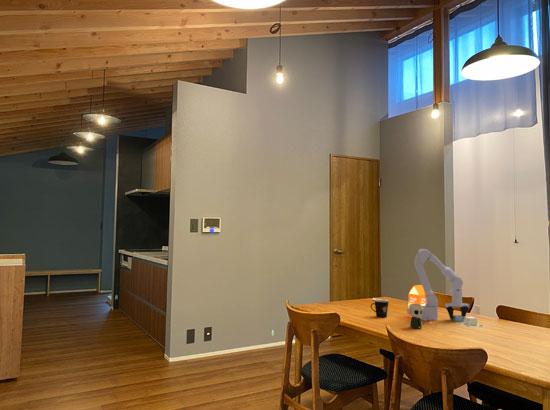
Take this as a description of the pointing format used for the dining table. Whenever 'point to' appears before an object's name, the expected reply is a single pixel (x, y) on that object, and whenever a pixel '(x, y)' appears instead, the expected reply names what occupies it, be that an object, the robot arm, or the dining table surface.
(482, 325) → the baseplate
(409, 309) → the toy figurine
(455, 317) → the blue block
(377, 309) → the coffee mug
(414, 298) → the orange juice
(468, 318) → the cream block
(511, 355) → the dining table surface
